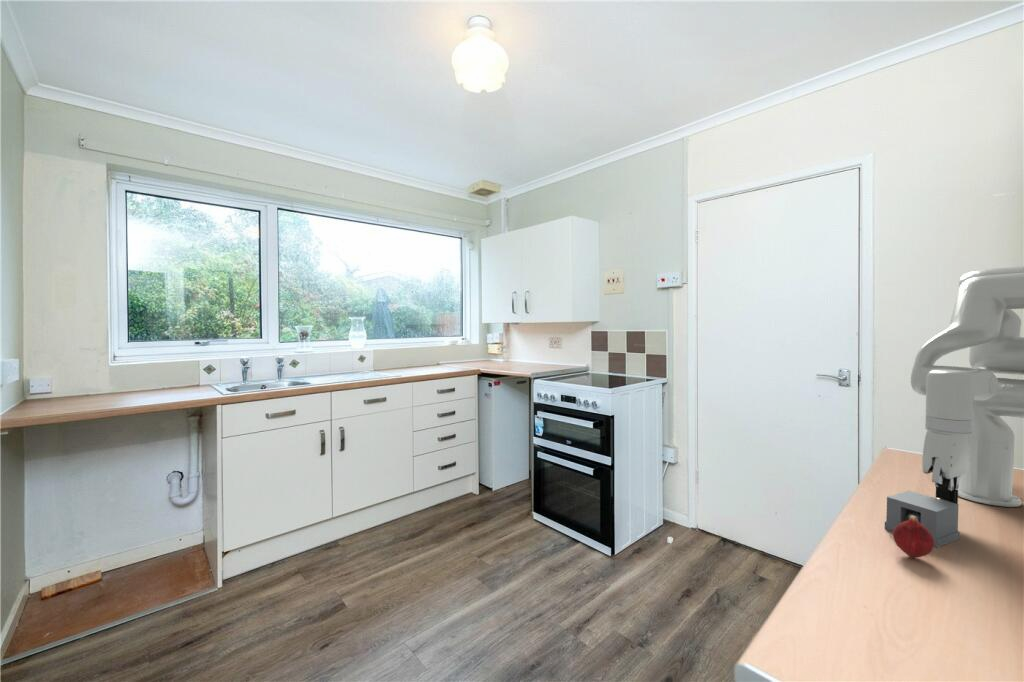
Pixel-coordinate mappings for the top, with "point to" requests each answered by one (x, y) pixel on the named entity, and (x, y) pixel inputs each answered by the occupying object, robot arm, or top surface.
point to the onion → (913, 538)
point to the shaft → (918, 514)
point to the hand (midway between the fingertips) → (946, 505)
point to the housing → (925, 515)
